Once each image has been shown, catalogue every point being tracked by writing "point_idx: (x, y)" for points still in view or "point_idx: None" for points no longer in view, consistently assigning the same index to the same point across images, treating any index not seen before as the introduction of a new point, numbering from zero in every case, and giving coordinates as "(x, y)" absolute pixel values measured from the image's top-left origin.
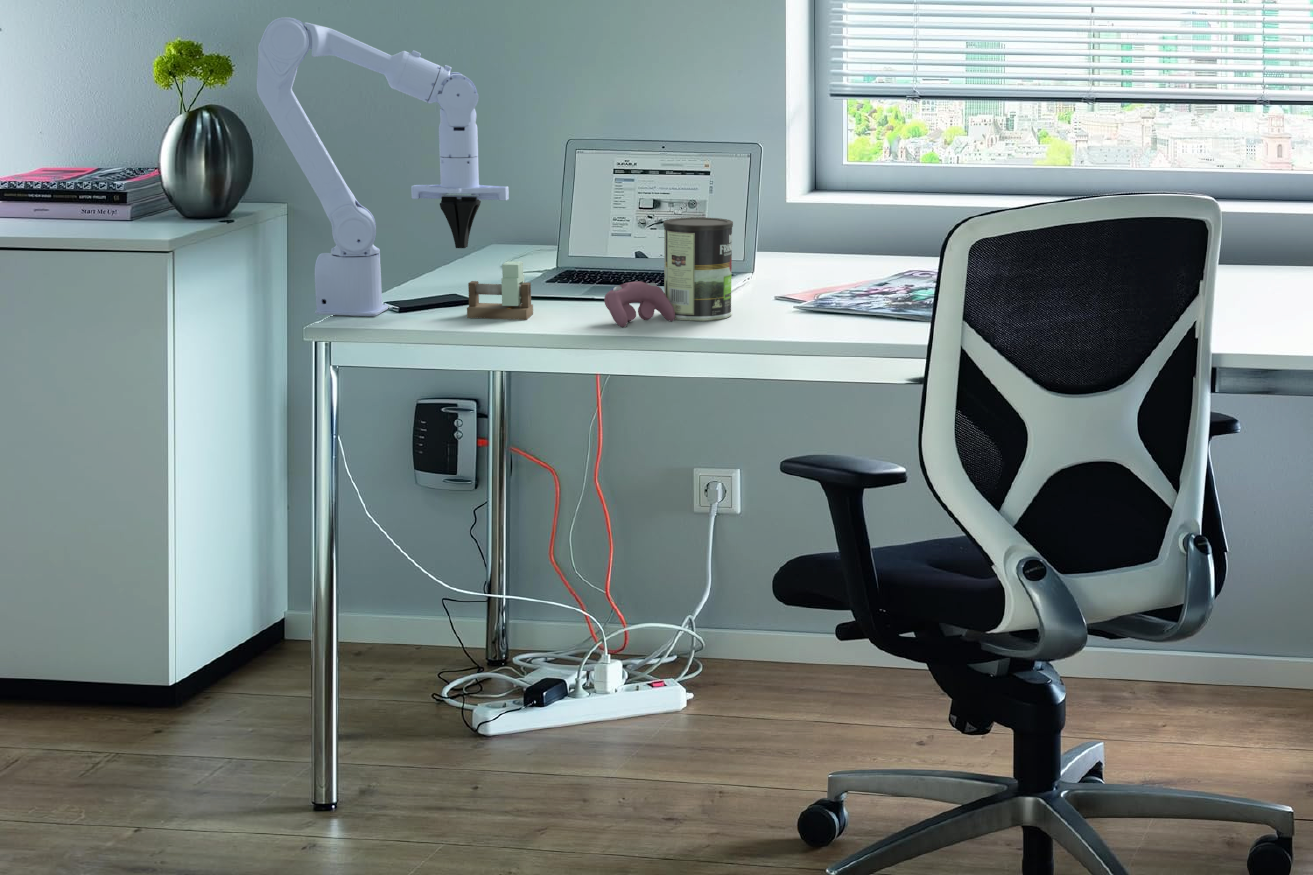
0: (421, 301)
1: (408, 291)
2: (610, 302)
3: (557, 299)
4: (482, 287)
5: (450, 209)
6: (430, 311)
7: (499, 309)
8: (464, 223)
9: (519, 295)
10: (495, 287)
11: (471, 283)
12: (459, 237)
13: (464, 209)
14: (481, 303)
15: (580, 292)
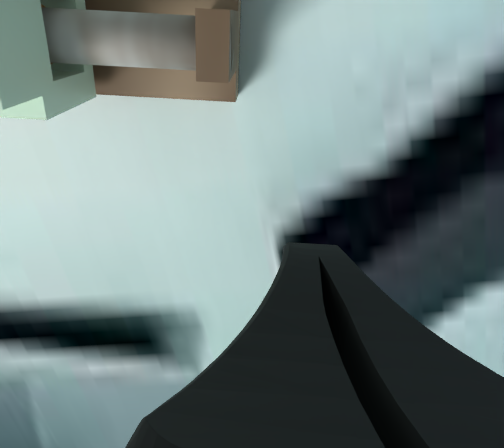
0: (440, 271)
1: None
2: None
3: (59, 324)
4: (163, 17)
5: (478, 425)
6: (399, 107)
7: None
8: (276, 325)
9: None
10: (97, 13)
11: (213, 9)
12: (318, 268)
13: (258, 415)
14: (205, 88)
15: (41, 405)
